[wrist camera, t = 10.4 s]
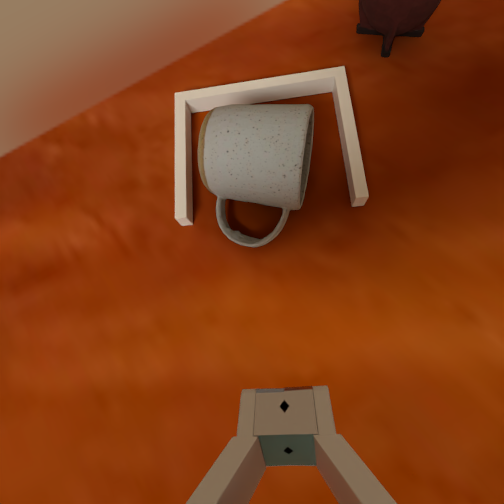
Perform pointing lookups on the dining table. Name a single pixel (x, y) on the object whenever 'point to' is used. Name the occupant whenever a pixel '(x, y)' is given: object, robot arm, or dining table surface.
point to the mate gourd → (394, 19)
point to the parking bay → (258, 93)
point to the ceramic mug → (256, 159)
